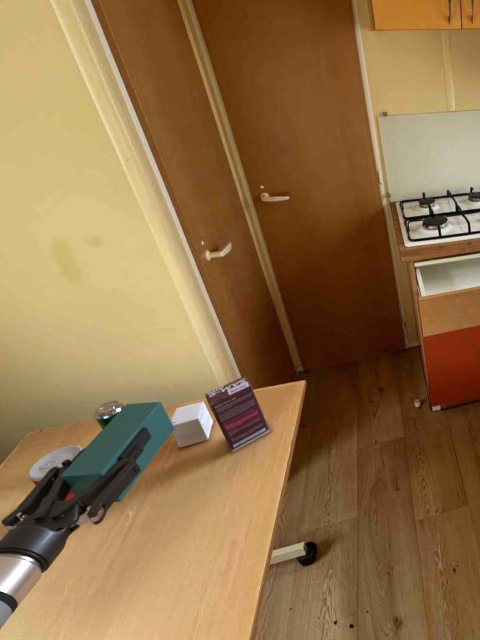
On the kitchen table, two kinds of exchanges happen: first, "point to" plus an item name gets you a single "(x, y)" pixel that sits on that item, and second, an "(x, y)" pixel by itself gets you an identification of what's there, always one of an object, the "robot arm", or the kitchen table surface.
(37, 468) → the canned food
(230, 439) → the supplement box
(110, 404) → the soda can
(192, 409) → the product box
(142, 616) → the kitchen table surface
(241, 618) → the kitchen table surface
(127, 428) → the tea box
